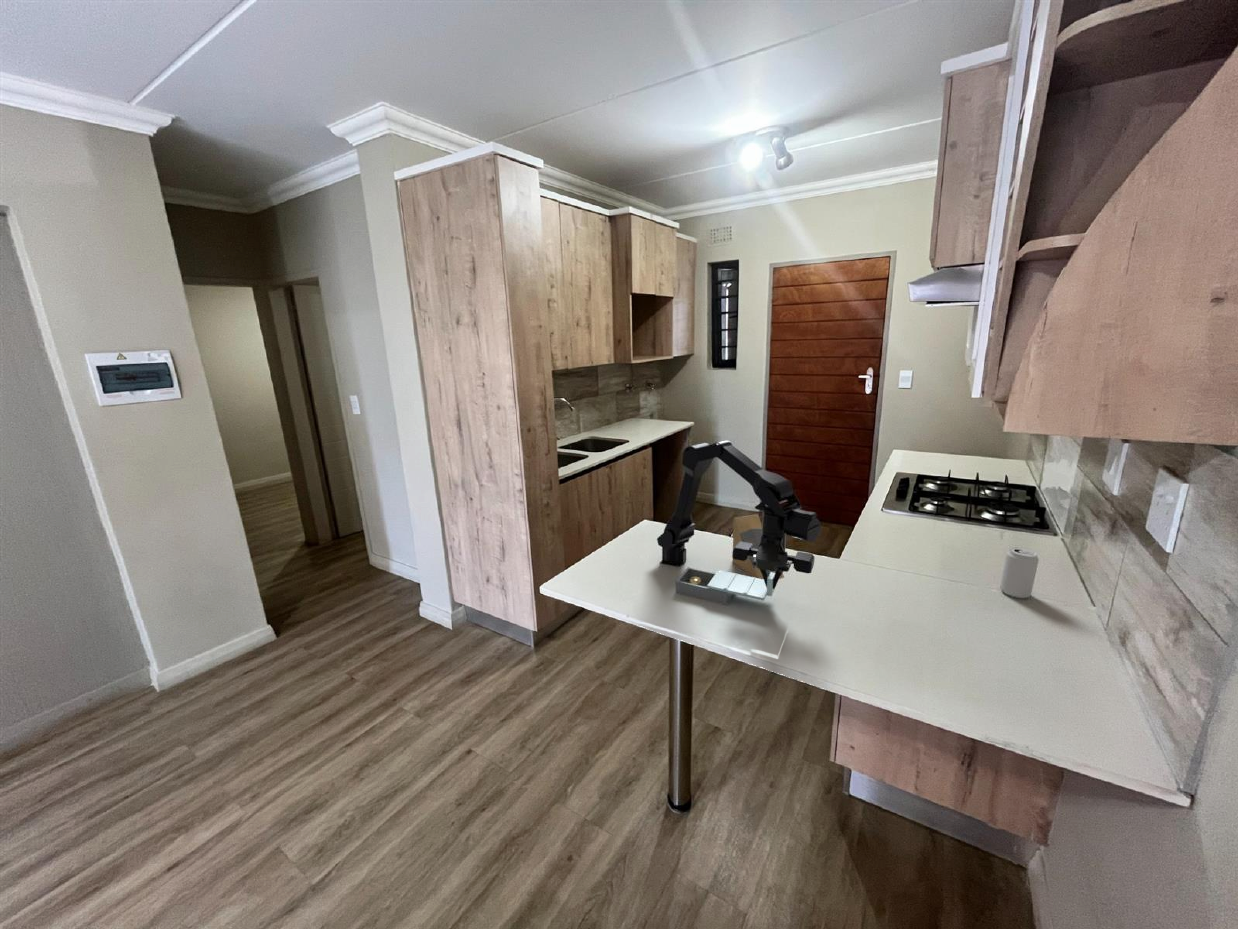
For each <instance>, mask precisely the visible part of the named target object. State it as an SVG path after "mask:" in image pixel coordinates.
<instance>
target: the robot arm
mask: <svg viewBox="0 0 1238 929" xmlns="http://www.w3.org/2000/svg"><path fill="white" fill-rule="evenodd" d="M681 458H682V460H681V465H682V468H683V471H684V472H683V473H684V474H683V478H682V482H681V486H680V490H679V495H678V499H677V501H676V506H675V508H674V509H675V511H674V514H673V515H672V516H671V517H670V518H669V520H668V521H667V522H666V524H665V527H664V529H663V533H661V534H660V535H659V536H658V537H657V538H656V541H657V546H659V547H661V560H660V562H659V564H662V565H667V566H671V567H676V568H679V567H680V568H681V566H683V565H684V564H685V563H686V562H687V549H686V543H689V541H690V539H691V538H692V537H693V536H695V530H696V527H697V524H696V523H694V522H693V519H692V514H693V511H694V506H695V504H696V500H697V496H698V492H699V488H700V486H701V483H702V477H703V476H704V474H705V473H706V472H707V470H708V469H709V468H711V465H712V462H713V460H714V459H715V458H717V459H718V460H720V461H721V462H722V463H723V464H725V465H726V466H728V467H729V469H731V470H732V471H733V472H735V473H736V474H737V475H739V477H741V478H742V479H743V480H744V481H746V482H747V483H748V484H750V486H752V490H753V493H754V494H755V495H756V497H757V498H759V500H760V501H761V502H759V504H757V505H755V506H754V508H755V510H758V511H761V512H762V521H761V524H762V536H761V542H760V544H759V547H758V549H753V547H754V545H753V543H747V542H741V541H740V542H738V543H737V544H736V546H735V547H734V549H733V548H732V552H731V553H732V556H731V558H732V560H733V559H736V560H741V561H745V560H746V559H747V558H748V556H754V562H753V565H754V566H756V567H757V568H759V569H760V571H761V573H762V576H763V579H764V582H765V585H766V587H767V578H768V576H769V574H770V571H775V576H774V581H773V589H774V590H775V589H776V587H777V584H778V582H779V580H780V579H779V578H780V576H781V574H782V573H783V574H784V573H787V572H789V571H790V568H791V565H793V569H794V570H795V571H796V572H799V573H803V574H811V573H812V572H813V571H812V570H813V568H814V565H815V556H814V554H813V553H808V552H802V551H797V552H796V555H792V554H790V553H788V552H787V551H786V544H787V542H786V541H787V536H789V537H792V538H795V539H799V540H801V541H805V542H807V543H811V544H812V543H814V542H816V540H818V538H819V536H820V532H821V528H822V526H821V523H820V520H819V518H817V515H818V514H817V513H816V512H813V511H808V510H807V511H806V510H803V509H802V508H803V506H802V504H801V501H800V500H799V498H798V496H797V494H796V493H795V491H794V489H793V483H792V482H791V481H790V480H789V479H788V478H785V477H783V476H782V475H780V474H778V473H775V472H772V471H771V472H770V471H769V470H766V469H764V468H762V467H761V466H760V465H759V464H757V463H756V461H755V462H754V461H753V460H752V459H751V458H750V457H749V456H747V455H746V454H745V453H743V452H741V450H739V449H738V448H736V447H735V445H733V444H732V442H731V441H730V440H721V441H715V442H713V443H712V444H709V443H707V442H701V443H696V444H692V445H688V446H686V447H684V449H683V451H682V457H681ZM785 502H787V503H786V504H783V505H781V504H782V503H785Z"/></svg>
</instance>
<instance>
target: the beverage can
mask: <svg viewBox="0 0 1238 929" xmlns="http://www.w3.org/2000/svg"><path fill="white" fill-rule="evenodd" d="M1039 559H1040V558H1039V557H1038V553H1037V552H1036V551H1034V550H1031V549H1029V548H1026V547H1018V546H1013V547H1009V549H1008V551H1006V554H1005V560H1004V564H1003V570H1002V574H1001V579H1000V584H999V589H1000V590H1001V591H1002V593H1004V594H1005V595H1007V596H1009V597H1012V598H1016V599H1026V598H1029V597H1031V596H1032V592H1033V587H1034V584H1035V578H1036V574H1037V569H1038V565H1039Z"/></svg>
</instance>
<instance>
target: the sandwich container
mask: <svg viewBox="0 0 1238 929" xmlns="http://www.w3.org/2000/svg"><path fill="white" fill-rule="evenodd" d="M732 528H733V529H732V531H733V534H732V539H733V540H732V550H733V549H734V547H735V546H736V544H737V543H738V542H740V541H741V542H747V543H753V545H754V547H753V549H758V547H759V544H760V542H761V536H762V521H761V519H760V517H759V514H758V513H757V514H750V515H744V516H743V515H742V516H736V517H734V518H733V527H732ZM732 562H733V563H734V564H735V565H737V567H739V568H740V569H742V571H744V572H746V573H747V574H748V576H749V575H750V577H755V578H759V579H763V576H762V573H761V571H760V569H759V568H757V567H756V566H754V565H753V562H754V556H748V558H747V559H746V560H745V561H741V560H736V559H733V558H732ZM770 572H773V573H775V571H770ZM784 578H785V576H784V572H783V573H782V574H781V576H780V578H779V580H780V579H784ZM763 580H764V579H763Z"/></svg>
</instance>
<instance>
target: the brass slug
mask: <svg viewBox="0 0 1238 929" xmlns="http://www.w3.org/2000/svg"><path fill="white" fill-rule="evenodd" d="M690 583H691V584H695V585H700V586H701V579H700V578H699V577H691V578H690Z"/></svg>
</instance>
